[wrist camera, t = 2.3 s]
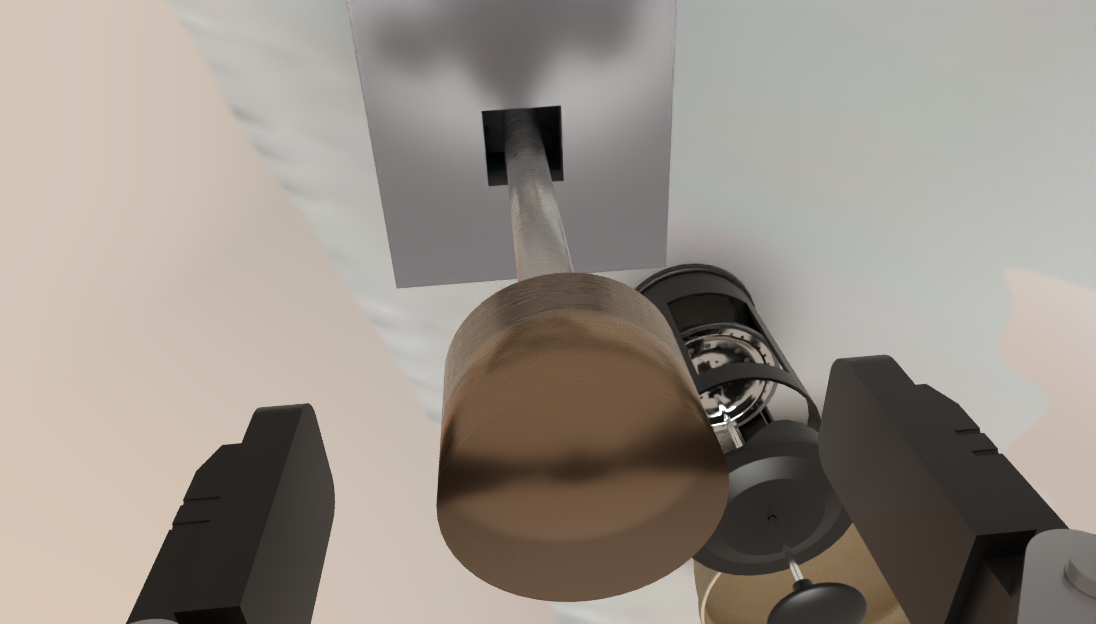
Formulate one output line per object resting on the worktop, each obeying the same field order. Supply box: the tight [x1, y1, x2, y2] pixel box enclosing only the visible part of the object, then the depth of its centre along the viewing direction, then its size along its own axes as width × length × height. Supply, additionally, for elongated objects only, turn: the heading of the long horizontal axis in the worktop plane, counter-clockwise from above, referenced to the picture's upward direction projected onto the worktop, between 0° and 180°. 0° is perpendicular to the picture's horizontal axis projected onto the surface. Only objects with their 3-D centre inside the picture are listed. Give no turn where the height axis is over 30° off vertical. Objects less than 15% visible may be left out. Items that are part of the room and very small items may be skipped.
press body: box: [346, 0, 677, 288], centre depth 31 cm, size 9×9×19 cm
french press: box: [635, 264, 867, 624], centre depth 40 cm, size 12×9×23 cm
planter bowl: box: [694, 523, 910, 624], centre depth 54 cm, size 16×16×11 cm
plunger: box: [437, 106, 729, 602], centre depth 20 cm, size 6×6×24 cm
